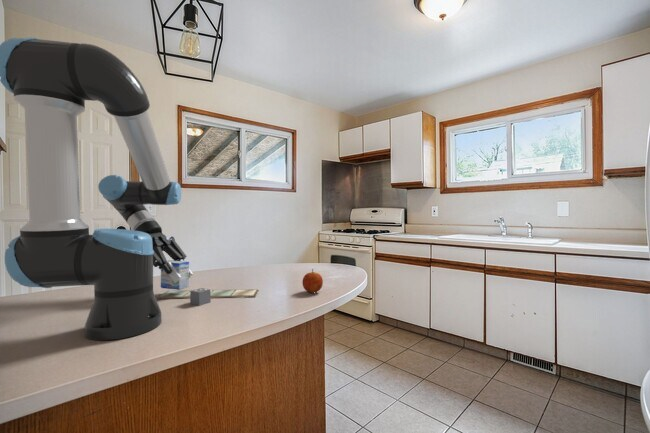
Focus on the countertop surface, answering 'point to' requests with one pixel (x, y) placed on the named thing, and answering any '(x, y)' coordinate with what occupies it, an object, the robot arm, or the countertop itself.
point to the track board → (213, 294)
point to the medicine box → (183, 270)
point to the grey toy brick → (200, 296)
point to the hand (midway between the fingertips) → (184, 278)
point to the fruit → (312, 282)
